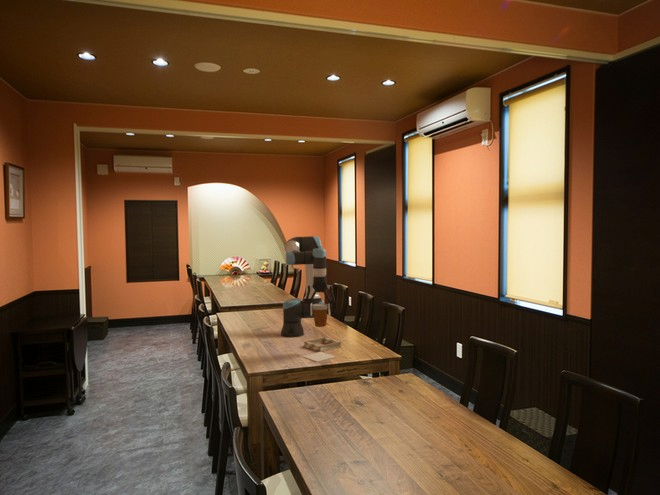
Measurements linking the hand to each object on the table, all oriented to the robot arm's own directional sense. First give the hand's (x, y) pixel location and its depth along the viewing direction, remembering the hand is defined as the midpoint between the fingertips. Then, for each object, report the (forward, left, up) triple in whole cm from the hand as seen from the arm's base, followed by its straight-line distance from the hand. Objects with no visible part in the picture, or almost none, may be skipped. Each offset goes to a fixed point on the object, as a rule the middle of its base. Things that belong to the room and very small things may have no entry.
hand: (320, 315), depth 266 cm
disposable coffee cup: (0, 0, -6) cm, 6 cm away
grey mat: (+7, -7, -21) cm, 24 cm away
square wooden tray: (-8, +8, -21) cm, 24 cm away
